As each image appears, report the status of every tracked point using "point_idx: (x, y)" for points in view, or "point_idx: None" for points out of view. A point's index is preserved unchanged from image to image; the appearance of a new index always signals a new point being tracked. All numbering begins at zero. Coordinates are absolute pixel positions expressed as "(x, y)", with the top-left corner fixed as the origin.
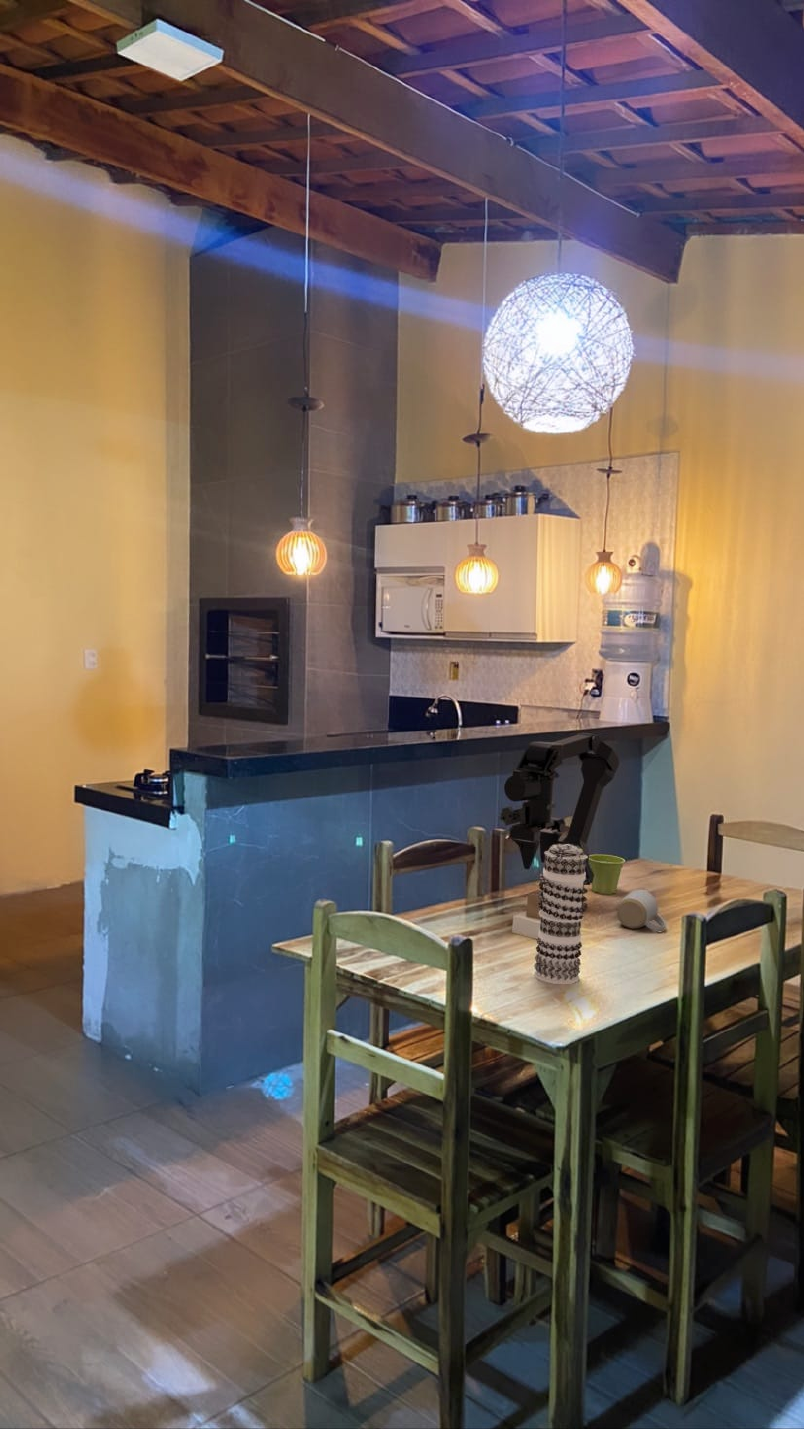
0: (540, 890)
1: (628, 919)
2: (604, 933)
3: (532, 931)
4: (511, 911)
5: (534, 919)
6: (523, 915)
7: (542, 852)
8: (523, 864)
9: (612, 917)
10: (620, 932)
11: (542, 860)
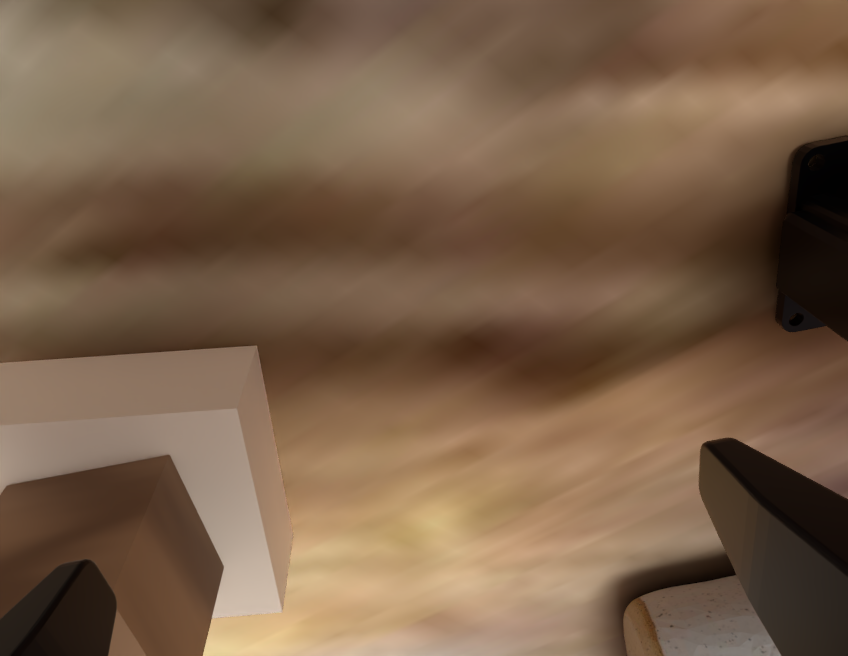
0: (118, 618)
1: (635, 651)
2: (458, 598)
3: None
4: (389, 27)
5: None
6: (9, 458)
7: (805, 580)
8: (6, 615)
9: None
10: (535, 619)
11: (711, 481)
